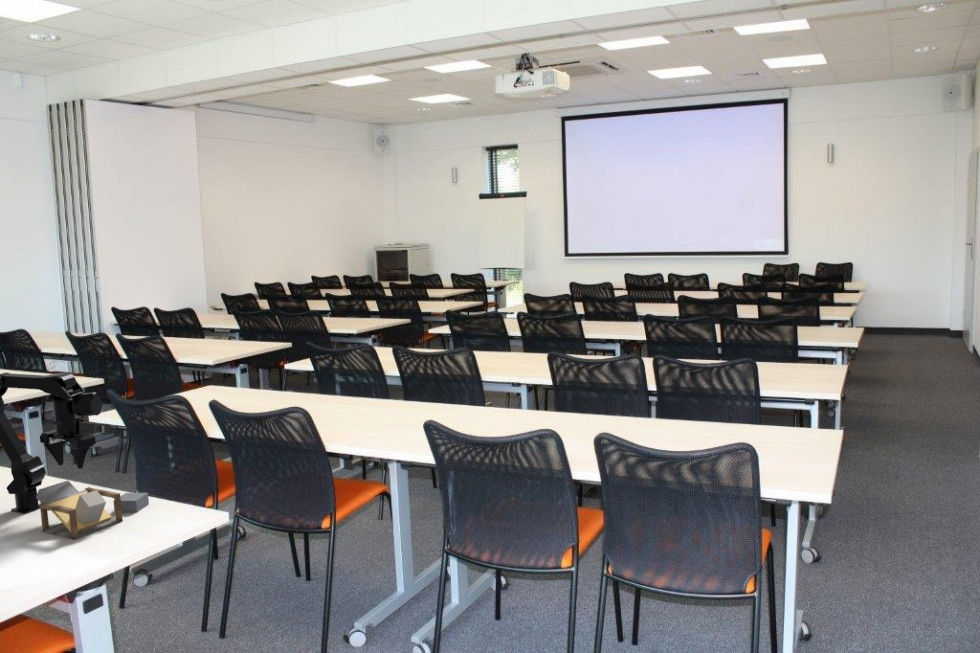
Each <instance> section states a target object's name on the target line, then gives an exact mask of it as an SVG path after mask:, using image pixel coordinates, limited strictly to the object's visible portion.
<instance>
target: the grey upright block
mask: <svg viewBox="0 0 980 653" xmlns="http://www.w3.org/2000/svg"><path fill="white" fill-rule="evenodd" d="M103 497H104V496H101V495H100V494H99V493H98V491H97V490H96V491H93V492H89V493H85V494H82V495H80V496H79V499H78V502H77V504H76V507H75V509H76V517H77V519H78V520H79V522H80V523H81V524H82V525H86V524H89V523H93V522H96V521H99V520H100V518H101V515H102V512H103V509H105V507H106V504H107V501H106V500H105V499H104V498H103Z"/></svg>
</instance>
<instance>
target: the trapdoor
mask: <svg viewBox="0 0 980 653" xmlns="http://www.w3.org/2000/svg"><path fill="white" fill-rule="evenodd" d="M85 493H89V492H88V491H87V490H85V489H83V490H81V491H79V490H78V489H77V488H76V487H75V486H74V485H73V484H72V483H71V482H70V481H69V480H65V481H61V482H59V483H56V484H52V485H49V486H46V487H43V488H39V489H38V490H37V496H36V498H37V499H38V502H39V503H42V502H46V503H50V504H55V505H60V506H64V507H69V508H73V509H75V507H76V504H77V502H78V499H79V496H80V495H82V494H85ZM49 511H51V512H52V513H53V515H54V516H55V517H56V518H57V519H58V521H60V523H63V524H64V525H65V527H66V528H67V529H68V530H69V531H70V532H71V526H70V517H69V514H66V513H62V512H58V511H53V510H49V509H47V512H49ZM111 517H113V516H112V515H111V514H110V513H109V512H108V511H107V510H106V509H105V508H104V509H103V512H102V515H101V518H100V520H99V521H96V522H93V523H89V524H86V525H82V524H81V523H80V522H79V520H78V519H77V527H78V531H81V530H83V529H86V528H89V527H91V526H94V525H97V524H99V523H102V522H105V521H107V520H110V519H111Z"/></svg>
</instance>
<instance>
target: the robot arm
mask: <svg viewBox="0 0 980 653" xmlns="http://www.w3.org/2000/svg"><path fill="white" fill-rule="evenodd" d="M8 389H20V390H21V389H22V390H37V391H42V392H43V393H45V394H50V395H49V396H48V397H47V398H46V399H45V403H52V406H53V415H54V419H53V420H51V424H52V425H54V426H55V429H52V430H49V431H45V432H41V434H40V435H39V440H40V442H39V443H40V444H43V446H44V447H45V448H46V449H47V450H48V452H49V453H50V454H51V455H52V458H54V460H55V461H56V463H57V464H58V466H62V465H64V447H65V444H66V443H69V445H70V446H69V447H70V448H69V450H70V452H71V455H72V457H73V459H74V462H75V464H76V466H77V468H78V470H80V469H83V468H84V464H85V460H86V456H87V453H88V451H89V449H91V448H93V447H94V445H96V444H97V437H96V436H95V432H96V427H97V424H96V423H90V422H85V420H84V419H83V418H81V417H82V416H83V417H84V416H85V417H86V416H91V417H92V416H99V415H100V414H101V412H102V410H103V401H102V400H101V398H100V396H98V393H97V392H96V391H94V392H93V391H92V392H86V391H85V389H84V388H83V387H82V386H81V384H80V383H79V382H78V381H77V380H76V377H75V376H74V374H73V373H71V372H59V373H58V372H57V373H53V374H47V375H46V374H45V375H41V374H26V373H24V374H23V373H10V372H3V373H2V372H1V373H0V445H1V447H2V449H3V451H4V453H5V454H6V456H7V457H8V459H9V461H10V466H11V467H10V468H11V471H10V472H11V475H12V479H13V480H12V481H10V483H9V484H8V485H7V486H6V490H7V492H8V495H14V499H15V500H14V501H15V507H14V508H11V509H10V510H11V512H14V513H19V514H23V515H24V514H27V513H30V512H34V511H37V510H40V502H39V500H38V499H37V498H36V496H37V493H38V490H37V487H39V486H42V483H43V480H44V479H45V476H46V474H47V472H46V469H45V467H46V465H45V464H44V463H43V462H42V459H41V457H40V456H39V455H36V456H32V455H31V454H29V453H28V451H27V449H26V448H25V446H24V444H23V442H22V441H21V439H20V437H19V436H18V434H17V433H16V430H15V429H14V427H13V425H12V424H11V422H10V421H9V419H8V417H7V415H6V414H5V401H4V399H3V396H5V394H6V393H7V392H8ZM80 416H81V417H80Z"/></svg>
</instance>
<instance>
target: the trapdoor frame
mask: <svg viewBox="0 0 980 653" xmlns="http://www.w3.org/2000/svg"><path fill="white" fill-rule="evenodd" d="M84 490H87V491H88V492H93V491H96V490H97V491H98V493H99V494H100V495H101V496H102V497H105V498H106V497H107V498H112V499H113V504H114V503H115V512H114V513H115V516H112V517H111V519H110V520H107V521H105V522H102V523H99V524H97V525H94V526H91V527H89V528H86V529H83V530H81V531H78V527H77V517H76V509H73V508H69V507H64V506H60V505H55V504H50V503H46V502H42V503H41V502H39V504H40V508H39V510H40V517H41V518H40V519H41V528H42V533H46V534H50V535H55V536H58V537H62V538H67V539H71V540H77V539H80V538H83V537H85V536H88V535H90V534H93V533H95V532H98V531H101V530H103V529H105V528H108V527H111V526H114V525H116V524H119V523H121V522H123V520H124V519H123V512H122V508H121V497H120V496H121V493H120V492H116V491H111V490H110V491H109V490H105V489H100V488H95V487H90V486H88V487H85V488H84ZM47 509H49V510H50V511H51V510H53V511H58V512H62V513H66V514H69V517H70V526H71V532H70V531H69V530H68V529H67V528H66V527H65V525H64V524H63V523H62V522H60V523H57V524H55V525H52V526H50V523H49V521H50V520H49V513H48V512H49V511H48V510H47Z"/></svg>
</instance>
